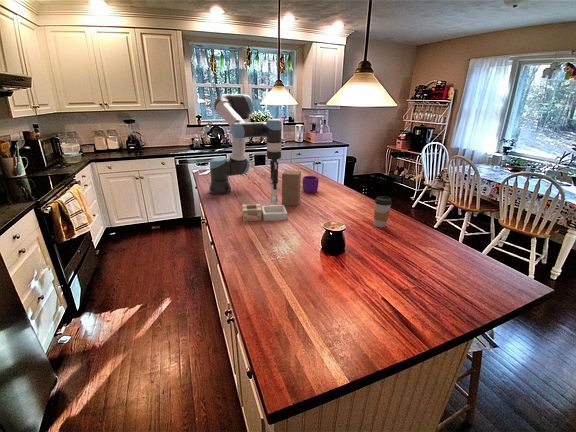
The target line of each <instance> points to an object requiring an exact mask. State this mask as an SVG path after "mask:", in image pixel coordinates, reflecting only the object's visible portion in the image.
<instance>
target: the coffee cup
mask: <svg viewBox="0 0 576 432" xmlns="http://www.w3.org/2000/svg"><path fill="white" fill-rule="evenodd" d="M391 205H392V198H391V197H389V196H383V195H382V196H376V198H375V201H374V212H373V225H374V226H375V227H377V228H385V227H386V226H387V222H388V219H389V215H390V210H391Z"/></svg>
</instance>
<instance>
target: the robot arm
mask: <svg viewBox="0 0 576 432" xmlns="http://www.w3.org/2000/svg"><path fill="white" fill-rule="evenodd" d="M253 105H254V104H253V101H252V98H251V96H249V95H248V94H244V93H224V94H220V95H219V96H217V98H216V99H215V100H214V104H213V108H214V109H213V110H214V112H215V113H216V114H217V115H218V116H219V117H221V118H223V120H224V121H225V122H226V124H228V125H229V126H230V133H231V137H232V143H231V146H232V147H231V148H232V149H231V154H229V158H227V157H225V156H219V157H214V158H212V159H210V161H209V173H210V183H209V184H210V185H209V193H210V194H211V195H227V194H230V193H232V186H231V184H230V181H229V177H230V176H231V177H233V176H242V175H247V173H248V172H249V171H250V160H249V158H248V157H247V155H246V154H245V153H246V139H247V138H266V144H265V147H266V158H267V159H268V160H270V161H269V165H270V166H269V167H270V179H271V178H272V181H273V182H272V183H271V182H270V185H271V184H272V195H277V196H278V183H279V162H278V160H280V159H282V128H283V127H282V121H281V119H276V118H274V119H273V118H269V119H267V120H266V121H259V122H257V121H255V122H254V121H253V122H247V121H248V120H249V119H250V115H252V114H253V111H254V106H253Z"/></svg>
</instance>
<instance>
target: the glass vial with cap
mask: <svg viewBox="0 0 576 432" xmlns="http://www.w3.org/2000/svg"><path fill="white" fill-rule="evenodd" d="M272 182H273V181H272V178H271V177H270V201H271V203H270V204H273V205H275V204H276V205H277V204H278V194H277V195H272V184H271V183H272Z"/></svg>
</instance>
